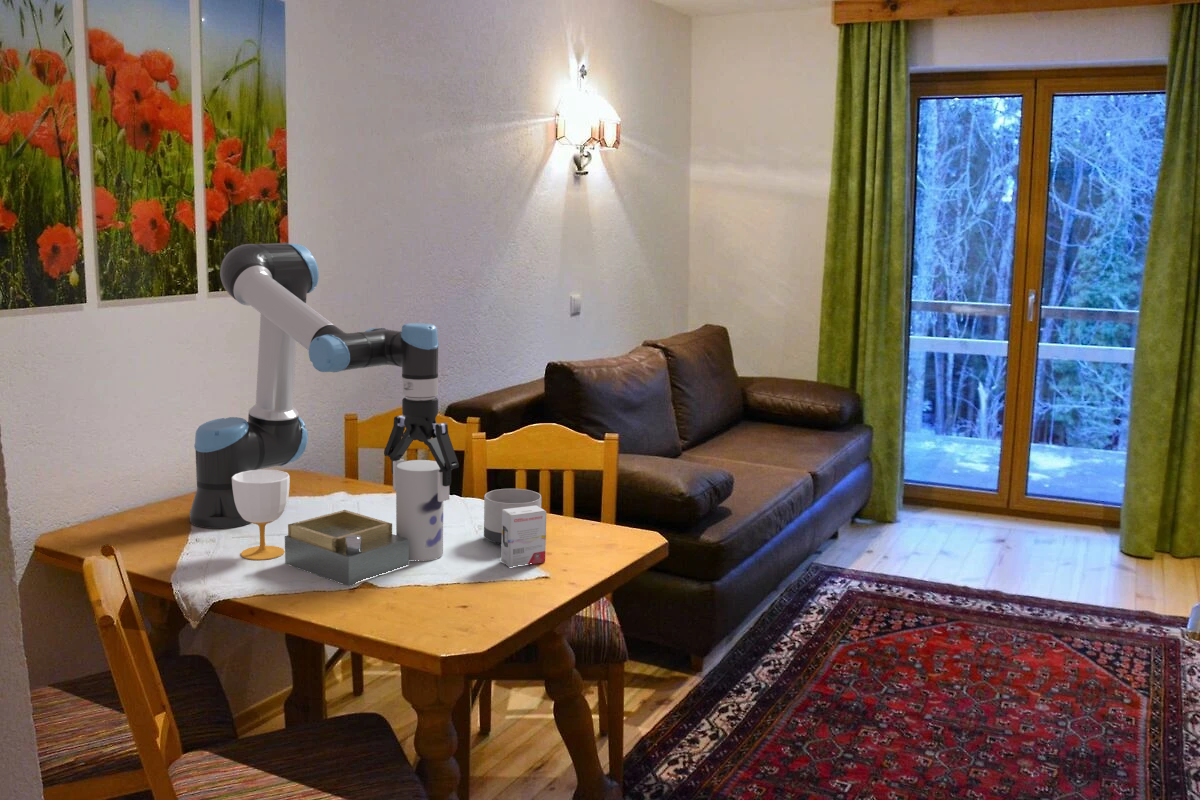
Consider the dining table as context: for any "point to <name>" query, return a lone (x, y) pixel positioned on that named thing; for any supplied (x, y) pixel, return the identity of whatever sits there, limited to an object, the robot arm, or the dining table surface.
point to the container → (419, 508)
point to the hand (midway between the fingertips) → (420, 495)
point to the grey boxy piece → (345, 547)
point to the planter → (504, 500)
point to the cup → (261, 505)
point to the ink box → (523, 535)
